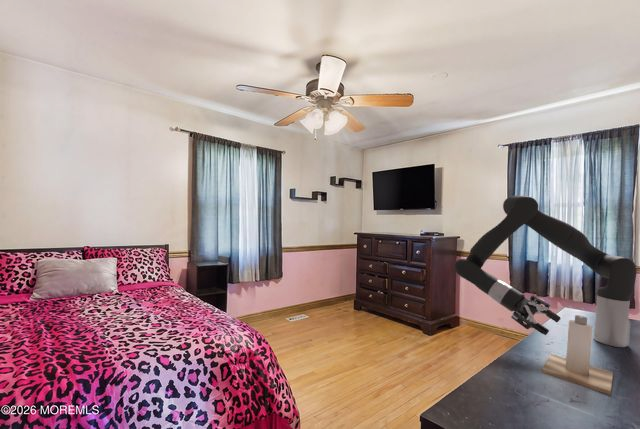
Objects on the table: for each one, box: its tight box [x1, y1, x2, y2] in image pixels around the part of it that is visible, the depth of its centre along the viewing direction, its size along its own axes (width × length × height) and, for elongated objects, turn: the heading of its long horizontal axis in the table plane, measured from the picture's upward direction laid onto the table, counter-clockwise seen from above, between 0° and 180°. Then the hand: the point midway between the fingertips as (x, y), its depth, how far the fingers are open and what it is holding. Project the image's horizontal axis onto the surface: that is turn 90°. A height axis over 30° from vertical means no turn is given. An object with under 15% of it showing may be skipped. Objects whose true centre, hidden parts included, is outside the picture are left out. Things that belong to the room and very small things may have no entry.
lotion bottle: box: [565, 314, 594, 375], centre depth 93 cm, size 5×5×16 cm
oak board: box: [541, 353, 614, 396], centre depth 93 cm, size 15×15×1 cm
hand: (553, 326), depth 104 cm, fingers open, 8 cm apart
